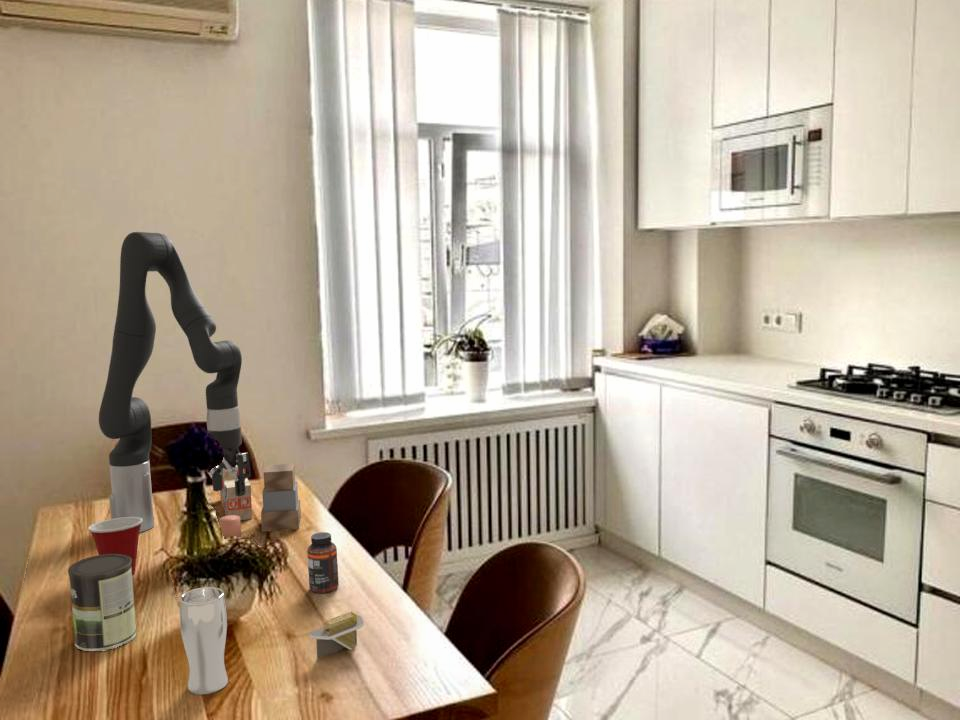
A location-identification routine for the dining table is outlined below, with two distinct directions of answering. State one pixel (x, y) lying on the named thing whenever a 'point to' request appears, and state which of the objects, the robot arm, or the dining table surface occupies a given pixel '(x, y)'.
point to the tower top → (279, 477)
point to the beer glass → (204, 638)
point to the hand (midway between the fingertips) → (229, 493)
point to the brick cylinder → (230, 526)
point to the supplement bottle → (322, 563)
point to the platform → (337, 634)
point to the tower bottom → (281, 519)
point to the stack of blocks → (235, 497)
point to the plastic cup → (117, 537)
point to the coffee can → (102, 602)
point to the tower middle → (280, 500)
